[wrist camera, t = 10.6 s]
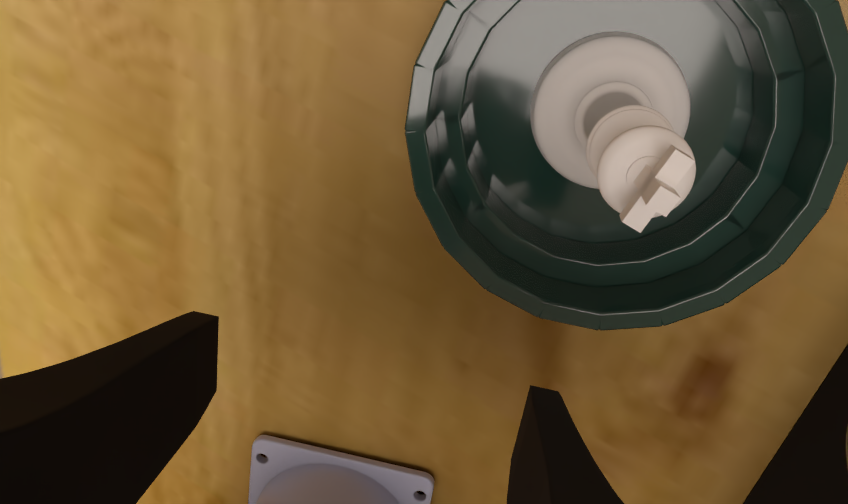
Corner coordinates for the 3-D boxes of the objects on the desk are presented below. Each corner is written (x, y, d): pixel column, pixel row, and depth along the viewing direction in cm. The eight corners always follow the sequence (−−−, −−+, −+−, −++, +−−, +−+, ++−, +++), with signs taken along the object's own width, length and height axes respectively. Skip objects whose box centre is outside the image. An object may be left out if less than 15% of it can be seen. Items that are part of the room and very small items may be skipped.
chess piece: (502, 138, 22) (478, 240, 13) (587, 0, 20) (630, 6, 11) (626, 213, 22) (691, 365, 13) (722, 83, 21) (874, 157, 11)
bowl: (724, 301, 24) (764, 366, 20) (407, 236, 25) (381, 285, 21) (854, -53, 19) (942, -66, 15) (462, -114, 20) (443, -142, 16)
